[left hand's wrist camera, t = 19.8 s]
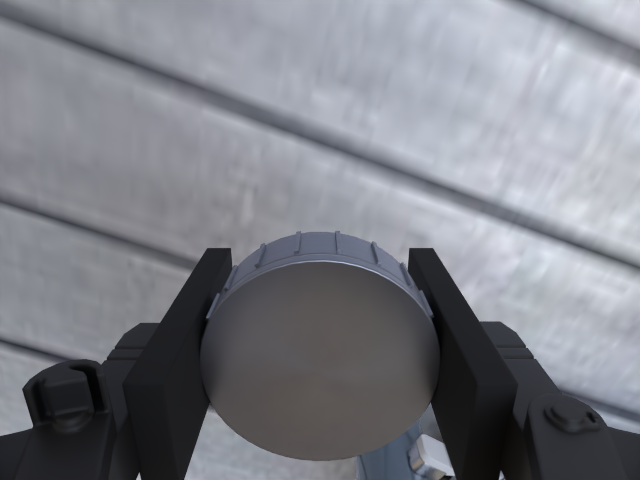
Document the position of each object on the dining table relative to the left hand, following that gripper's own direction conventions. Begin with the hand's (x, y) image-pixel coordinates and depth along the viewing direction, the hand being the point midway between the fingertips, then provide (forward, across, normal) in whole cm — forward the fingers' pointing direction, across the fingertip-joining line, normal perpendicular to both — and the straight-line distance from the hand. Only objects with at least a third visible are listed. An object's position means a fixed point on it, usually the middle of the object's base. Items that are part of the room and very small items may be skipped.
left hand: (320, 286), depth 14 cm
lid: (-4, 0, 0) cm, 4 cm away
